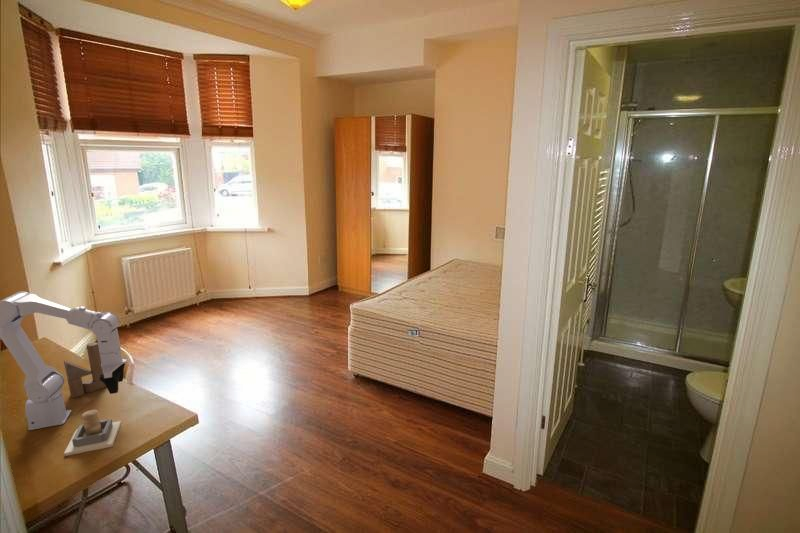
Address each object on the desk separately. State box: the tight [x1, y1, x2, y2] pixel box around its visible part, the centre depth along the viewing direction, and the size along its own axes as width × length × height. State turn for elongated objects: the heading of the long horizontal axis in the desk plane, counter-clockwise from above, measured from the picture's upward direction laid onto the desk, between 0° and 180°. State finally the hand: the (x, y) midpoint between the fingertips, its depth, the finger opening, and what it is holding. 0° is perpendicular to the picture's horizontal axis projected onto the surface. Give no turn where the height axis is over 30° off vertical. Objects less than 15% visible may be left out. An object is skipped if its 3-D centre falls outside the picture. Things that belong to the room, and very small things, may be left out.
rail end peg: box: [81, 409, 102, 436], centre depth 129 cm, size 4×4×8 cm
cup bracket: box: [63, 418, 122, 457], centre depth 130 cm, size 12×12×4 cm
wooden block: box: [63, 341, 107, 399], centre depth 154 cm, size 4×11×18 cm, turn 139°
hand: (116, 387), depth 140 cm, fingers open, 7 cm apart
